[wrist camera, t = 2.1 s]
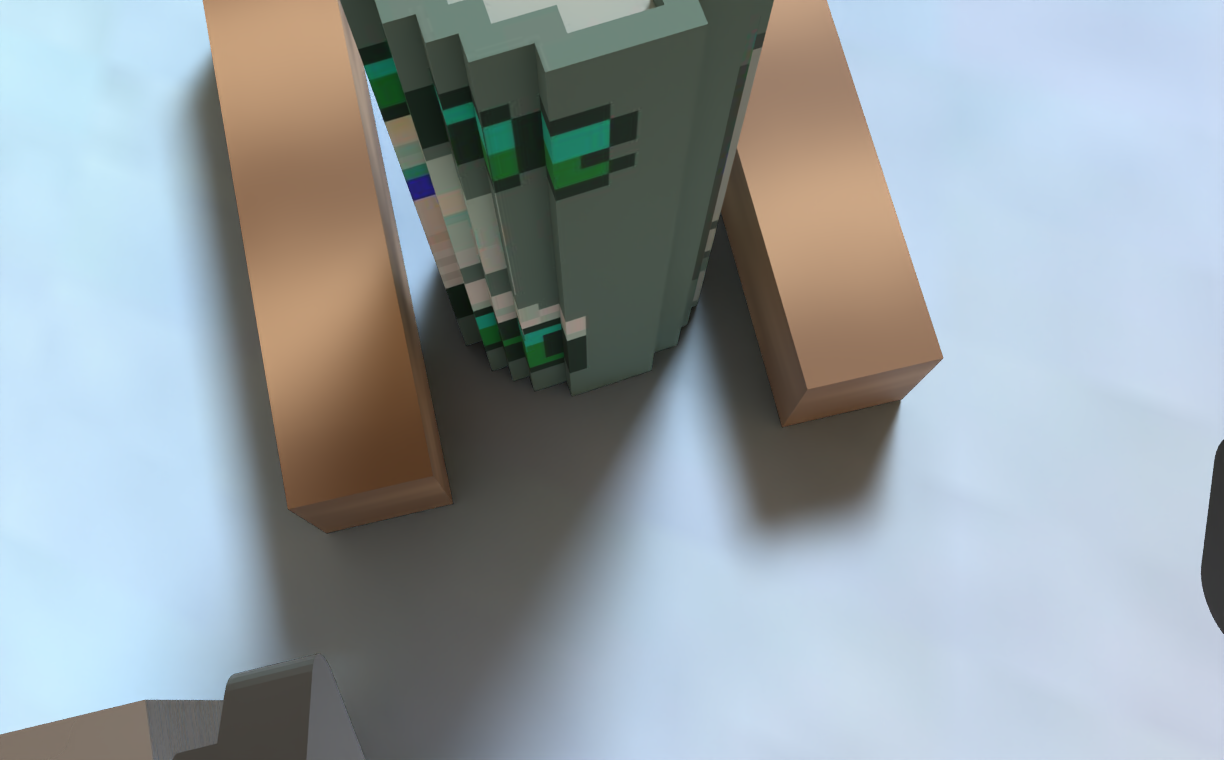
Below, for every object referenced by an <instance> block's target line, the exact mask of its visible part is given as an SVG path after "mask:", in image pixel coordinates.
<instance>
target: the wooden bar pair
mask: <svg viewBox="0 0 1224 760" xmlns="http://www.w3.org/2000/svg"><path fill="white" fill-rule="evenodd" d="M203 4H204V10H205V16H206V22H207V28H208V34H209V40H210V46H211V52H212V58H213V64H214V70H215V76H216V82H217V88H218V94H219V100H220V106H221V112H222V118H223V124H224V130H225V136H226V142H227V148H228V154H229V160H230V166H231V172H232V178H233V184H234V190H235V196H236V202H237V208H238V214H239V220H240V226H241V232H242V238H243V244H244V250H245V256H246V262H247V268H248V274H249V280H250V286H251V292H252V298H253V304H254V310H255V316H256V322H257V328H258V334H259V340H260V345H261V351H262V357H263V363H264V369H265V375H266V381H267V387H268V393H269V399H270V405H271V411H272V417H273V423H274V429H275V435H276V441H277V447H278V453H279V459H280V465H281V471H282V477H283V483H284V489H285V495H286V501H287V507H288V510H290V511H291V512H293V513H295V514H296V515H298V516H299V517H301V518H303V519H304V520H306V521H307V522H309V523H311V524H312V525H314V526H315V527H317V528H319V529H320V530H322V531H323V532H325V533H330V532H334V531H338V530H343V529H347V528H351V527H355V526H360V525H364V524H368V523H373V522H377V521H381V520H386V519H390V518H394V517H398V516H403V515H407V514H411V513H416V512H420V511H424V510H429V509H433V508H437V507H441V506H446V505H450V504H453V500H452V495H451V490H450V485H449V481H448V476H447V471H446V466H445V461H444V456H443V451H442V446H441V441H440V437H439V432H438V427H437V422H436V417H435V412H434V407H433V402H432V397H431V393H430V388H429V383H428V378H427V373H426V368H425V363H424V358H423V354H422V349H421V344H420V339H419V334H418V329H417V324H416V319H415V314H414V310H413V305H412V300H411V295H410V290H409V285H408V280H407V275H406V271H405V266H404V261H403V256H402V251H401V246H400V241H399V236H398V231H397V227H396V222H395V217H394V212H393V207H392V202H391V197H390V192H389V187H388V183H387V178H386V173H385V168H384V163H383V158H382V153H381V148H380V144H379V139H378V134H377V129H376V124H375V119H374V114H373V109H372V104H371V100H370V95H369V90H368V85H367V80H366V75H365V70H364V65H363V62H362V60H361V57H360V54H359V51H358V49H357V46H356V43H355V40H354V38H353V35H352V32H351V30H350V27H349V24H348V21H347V19H346V16H345V13H344V10H343V8H342V5H341V2H340V0H203ZM721 214H722V217H723V221H724V224H725V228H726V231H727V235H728V239H729V242H730V246H731V249H732V253H733V256H734V260H735V263H736V267H737V270H738V274H739V277H740V281H741V284H742V288H743V291H744V295H745V298H746V302H747V305H748V309H749V312H750V316H751V320H752V323H753V327H754V330H755V334H756V337H757V341H758V344H759V348H760V351H761V355H762V358H763V362H764V365H765V369H766V372H767V376H768V379H769V383H770V386H771V390H772V393H773V397H774V400H775V404H776V408H777V411H778V415H779V418H780V422H781V425H782V427H785V426H790V425H794V424H798V423H803V422H807V421H811V420H815V419H820V418H824V417H828V416H833V415H837V414H841V413H846V412H850V411H854V410H858V409H863V408H867V407H871V406H876V405H880V404H884V403H889V402H893V401H897V400H901V399H903V398H904V397H905V396H906V395H907V394H908V393H909V392H910V391H911V390H912V389H913V388H914V387H915V386H916V385H917V384H918V383H919V382H920V381H921V380H922V379H923V378H924V377H925V376H926V375H927V374H928V373H929V372H930V371H931V370H932V369H933V368H934V367H935V366H936V365H937V364H938V363H939V362H940V361H941V360H942V359H943V355H942V352H941V349H940V346H939V343H938V340H937V337H936V334H935V331H934V328H933V325H932V322H931V319H930V316H929V312H928V309H927V306H926V303H925V300H924V297H923V294H922V291H921V288H920V285H919V282H918V279H917V276H916V273H915V270H914V267H913V263H912V260H911V257H910V254H909V251H908V248H907V245H906V242H905V239H904V236H903V233H902V230H901V227H900V224H899V221H898V218H897V214H896V211H895V208H894V205H893V202H892V199H891V196H890V193H889V190H888V187H887V184H886V181H885V178H884V175H883V172H882V168H881V165H880V162H879V159H878V156H877V153H876V150H875V147H874V144H873V141H872V138H871V135H870V132H869V129H868V126H867V123H866V119H865V116H864V113H863V110H862V107H861V104H860V101H859V98H858V95H857V92H856V89H855V86H854V83H853V80H852V77H851V74H850V70H849V67H848V64H847V61H846V58H845V55H844V52H843V49H842V46H841V43H840V40H839V37H838V34H837V31H836V28H835V24H834V21H833V18H832V15H831V12H830V9H829V6H828V3H827V0H774V2H773V6H772V10H771V14H770V18H769V22H768V26H767V30H766V34H765V38H764V42H763V46H762V50H761V54H760V58H759V62H758V66H757V70H756V74H755V78H754V82H753V86H752V90H751V93H750V97H749V101H748V105H747V109H746V113H745V117H744V121H743V125H742V129H741V133H740V137H739V141H738V145H737V149H736V153H735V157H734V161H733V165H732V169H731V173H730V177H729V181H728V185H727V189H726V193H725V196H724V200H723V204H722V208H721Z"/></svg>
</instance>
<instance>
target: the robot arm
mask: <svg viewBox="0 0 1224 760" xmlns="http://www.w3.org/2000/svg"><path fill="white" fill-rule="evenodd" d="M1201 580H1202V587H1203V592H1204V595H1205V599H1206V602H1207V604H1208V607H1209V610H1210V612H1211V614H1212V616H1213V618H1214V620H1215V622H1216V623H1217V625H1218V627H1219V628H1220V630H1221V631H1222V633H1223V634H1224V440H1223V441H1222V442H1221V443H1220V445H1219V446H1218V449H1217V451H1216V455H1215V460H1214V468H1213V476H1212V484H1211V492H1210V500H1209V508H1208V516H1207V524H1206V532H1205V540H1204V549H1203V557H1202V565H1201ZM172 760H365V757H364V754H363V752H362V749H361V747H360V744H359V741H358V739H357V736H356V734H355V731H354V728H353V726H352V723H351V720H350V718H349V715H348V713H347V710H346V707H345V705H344V702H343V699H342V697H341V694H340V692H339V689H338V686H337V684H336V681H335V679H334V676H333V673H332V671H331V669H330V666H329V664H328V662H327V660H326V659H325V658H324V656H323V655H321V654H315V655H311V656H307V657H303V658H298V659H294V660H290V661H286V662H282V663H278V664H274V665H270V666H265V667H261V668H257V669H253V670H249V671H245V672H241V673H237V674H233V675H232V676H231V677H230V678H229V680H228V682H227V685H226V690H225V695H224V702H223V708H222V714H221V721H220V727H219V733H218V740H217V744H213V745H209V746H205V747H201V748H197V749H192V750H188V751H184V752H180V753H176V755H175V756H174V758H173V759H172Z"/></svg>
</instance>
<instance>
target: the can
mask: <svg viewBox="0 0 1224 760" xmlns="http://www.w3.org/2000/svg"><path fill="white" fill-rule="evenodd" d="M340 2H341V5H342V8H343V10H344V13H345V16H346V19H347V21H348V24H349V27H350V30H351V32H352V35H353V38H354V40H355V43H356V46H357V49H358V51H359V54H360V57H361V60H362V62H363V65H364V68H365V70H366V73H367V76H368V79H369V81H370V84H371V87H372V90H373V92H374V95H375V98H376V101H377V103H378V106H379V109H380V111H381V114H382V117H383V120H384V122H385V125H386V128H387V131H388V133H389V136H390V139H391V142H392V144H393V147H394V150H395V152H396V155H397V158H398V161H399V163H400V166H401V169H402V172H403V174H404V177H405V180H406V183H407V185H408V188H409V191H410V193H411V196H412V199H413V202H414V204H415V207H416V210H417V213H418V215H419V218H420V221H421V224H422V226H423V229H424V232H425V234H426V237H427V240H428V243H429V245H430V248H431V251H432V254H433V256H434V259H435V262H436V264H437V267H438V270H439V273H440V275H441V278H442V281H443V284H444V286H445V289H446V292H447V295H448V297H449V300H450V303H451V305H452V308H453V311H454V314H455V316H456V319H457V322H458V325H459V327H460V330H461V333H462V336H463V338H464V341H465V344H466V346H467V345H470V344H474V343H477V342H480V341H482V342H483V345H484V348H485V351H486V354H487V357H488V360H489V363H490V366H491V369H492V371H494V370H497V369H500V368H503V367H506V366H508V367H509V370H510V373H511V376H512V379H513V381H516V380H519V379H522V378H525V377H528V376H529V377H530V380H531V383H532V386H533V389H534V391H537V390H540V389H544V388H547V387H550V386H553V385H556V384H559V383H562V382H565V381H567V384H568V387H569V390H570V393H571V396H575V395H578V394H581V393H584V392H587V391H590V390H593V389H596V388H599V387H602V386H605V385H608V384H612V383H615V382H618V381H621V380H624V379H627V378H630V377H633V376H636V375H639V374H642V373H645V372H648V371H651V369H652V363H653V357H654V352H657V351H661V350H664V349H667V348H670V347H673V346H676V345H677V344H678V339H679V335H680V330H681V327H683V326H686V325H687V324H688V319H689V315H690V311H691V307H693V306H696V305H697V303H698V299H699V296H700V292H701V288H702V284H703V280H704V276H705V272H706V268H707V264H708V260H709V256H710V252H711V248H712V244H713V240H714V236H715V232H716V228H717V224H718V220H719V216H720V212H721V208H722V204H723V200H724V196H725V193H726V189H727V185H728V181H729V177H730V173H731V169H732V165H733V161H734V157H735V153H736V149H737V145H738V141H739V137H740V133H741V129H742V125H743V121H744V117H745V113H746V109H747V105H748V101H749V97H750V93H751V90H752V86H753V82H754V78H755V74H756V70H757V66H758V62H759V58H760V54H761V50H762V46H763V42H764V38H765V34H766V30H767V26H768V22H769V18H770V14H771V10H772V6H773V2H774V0H340Z"/></svg>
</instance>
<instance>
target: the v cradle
mask: <svg viewBox="0 0 1224 760" xmlns="http://www.w3.org/2000/svg"><path fill="white" fill-rule="evenodd" d="M223 702H224V700H142V701H138V702H134V703H130V704H126V705H122V706H117V707H113V708H109V709H105V710H101V711H97V712H92V713H88V714H84V715H80V716H76V717H72V718H67V719H63V720H59V721H55V722H51V723H47V724H42V725H38V726H34V727H30V728H26V729H22V730H18V731H13V732H9V733H5V734H1V735H0V760H172V759H173V758H174V756H175V755H176V753H180V752H184V751H188V750H192V749H197V748H201V747H205V746H209V745H213V744H217V740H218V733H219V727H220V721H221V714H222V708H223Z"/></svg>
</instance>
